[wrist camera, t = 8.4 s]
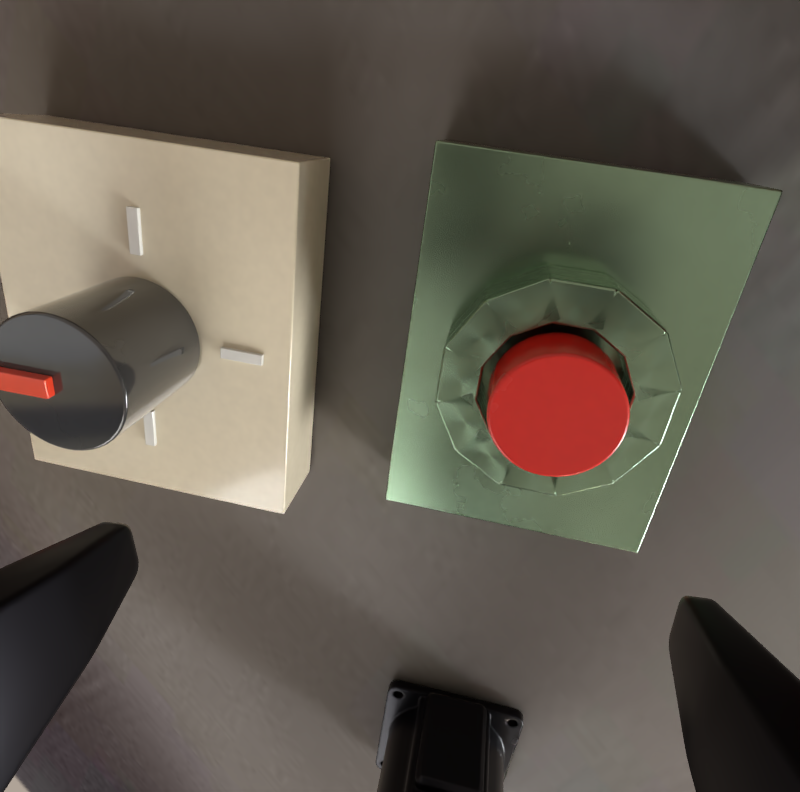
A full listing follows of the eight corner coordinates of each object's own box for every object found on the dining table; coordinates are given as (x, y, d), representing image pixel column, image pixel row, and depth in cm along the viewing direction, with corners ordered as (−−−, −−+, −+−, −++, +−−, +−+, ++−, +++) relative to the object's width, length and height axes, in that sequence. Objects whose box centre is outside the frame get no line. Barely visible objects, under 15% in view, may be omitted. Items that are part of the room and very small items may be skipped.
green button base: (626, 515, 22) (649, 591, 18) (395, 467, 23) (374, 531, 19) (751, 183, 16) (818, 197, 13) (444, 139, 17) (426, 141, 14)
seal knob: (198, 286, 17) (109, 329, 14) (203, 402, 19) (127, 469, 15) (79, 266, 18) (-40, 303, 14) (94, 381, 20) (-7, 442, 16)
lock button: (598, 457, 17) (607, 490, 15) (478, 433, 17) (475, 463, 16) (635, 344, 15) (650, 368, 14) (502, 320, 16) (501, 341, 14)
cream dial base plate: (309, 471, 23) (282, 517, 21) (86, 424, 24) (30, 462, 22) (331, 158, 18) (297, 162, 15) (45, 114, 19) (-36, 111, 16)
